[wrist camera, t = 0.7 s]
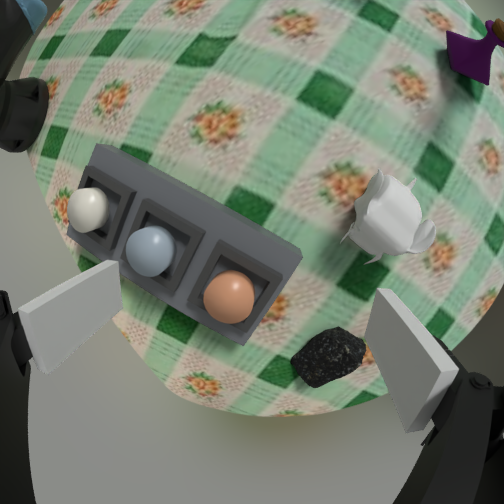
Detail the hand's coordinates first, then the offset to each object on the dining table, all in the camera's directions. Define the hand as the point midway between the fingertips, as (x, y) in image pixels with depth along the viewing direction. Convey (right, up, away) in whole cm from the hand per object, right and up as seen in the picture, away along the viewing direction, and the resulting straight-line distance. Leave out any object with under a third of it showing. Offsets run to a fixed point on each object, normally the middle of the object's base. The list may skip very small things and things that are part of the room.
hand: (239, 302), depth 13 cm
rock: (+12, -13, +26) cm, 31 cm away
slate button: (-10, +3, +17) cm, 20 cm away
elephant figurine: (+16, +7, +20) cm, 27 cm away
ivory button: (-19, +8, +16) cm, 26 cm away
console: (-10, +4, +23) cm, 25 cm away
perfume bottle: (+33, +32, +11) cm, 48 cm away
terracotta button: (-2, -2, +17) cm, 18 cm away
